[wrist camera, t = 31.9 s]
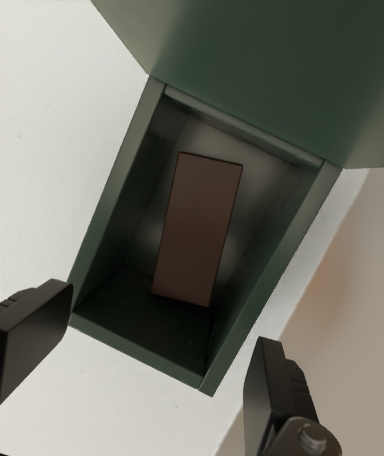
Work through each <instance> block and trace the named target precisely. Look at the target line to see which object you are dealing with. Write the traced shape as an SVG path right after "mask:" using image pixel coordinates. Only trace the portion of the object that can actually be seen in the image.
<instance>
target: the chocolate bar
mask: <svg viewBox="0 0 384 456" xmlns="http://www.w3.org/2000/svg"><path fill="white" fill-rule="evenodd" d="M242 171H243V165H242V164H239V163H234V162H230V161H225V160H221V159H216V158H212V157H207V156H203V155H198V154H194V153H189V152H178V157H177V161H176V166H175V171H174V176H173V181H172V186H171V191H170V196H169V201H168V206H167V211H166V216H165V221H164V226H163V231H162V236H161V241H160V246H159V251H158V256H157V261H156V266H155V271H154V276H153V281H152V285H151V290H150V292H151V293H153V294H156V295H160V296H164V297H168V298H172V299H176V300H180V301H184V302H188V303H192V304H196V305H200V306H204V307H209V305H210V301H211V297H212V293H213V289H214V285H215V280H216V276H217V272H218V268H219V264H220V260H221V256H222V252H223V248H224V244H225V240H226V236H227V232H228V228H229V223H230V219H231V215H232V211H233V207H234V203H235V199H236V195H237V191H238V187H239V183H240V179H241V175H242Z"/></svg>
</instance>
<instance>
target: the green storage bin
mask: <svg viewBox="0 0 384 456" xmlns="http://www.w3.org/2000/svg"><path fill="white" fill-rule="evenodd" d="M178 152H189V153H194V154H198V155H203V156H207V157H212V158H216V159H221V160H225V161H230V162H234V163H239V164H242V165H243V171H242V175H241V179H240V183H239V187H238V191H237V195H236V199H235V203H234V207H233V211H232V215H231V219H230V223H229V228H228V232H227V236H226V240H225V244H224V248H223V252H222V256H221V260H220V264H219V268H218V272H217V276H216V280H215V285H214V289H213V293H212V297H211V301H210V305H209V307H204V306H200V305H196V304H192V303H188V302H184V301H180V300H176V299H172V298H168V297H164V296H160V295H156V294H153V293H151V292H150V290H151V285H152V281H153V276H154V271H155V266H156V261H157V256H158V251H159V246H160V241H161V236H162V231H163V226H164V221H165V216H166V211H167V206H168V201H169V196H170V191H171V186H172V181H173V176H174V171H175V166H176V161H177V157H178ZM342 169H343V167H341V166H338V165H336V164H334V163H332V162H330V161H328V160H326V159H324V158H322V157H320V156H318V155H316V154H313V153H311V152H309V151H307V150H305V149H303V148H301V147H299V146H297V145H295V144H293V143H290V142H288V141H286V140H284V139H282V138H280V137H278V136H276V135H274V134H272V133H270V132H268V131H265V130H263V129H261V128H259V127H257V126H255V125H253V124H251V123H249V122H247V121H245V120H242V119H240V118H238V117H236V116H234V115H232V114H230V113H228V112H226V111H224V110H222V109H220V108H217V107H215V106H213V105H211V104H209V103H207V102H205V101H203V100H201V99H199V98H197V97H194V96H192V95H190V94H188V93H186V92H184V91H182V90H180V89H178V88H176V87H174V86H171V85H169V84H167V83H165V82H163V81H161V80H159V79H157V78H155V77H153V76H151V75H149V78H148V80H147V83H146V85H145V88H144V90H143V93H142V95H141V98H140V100H139V103H138V105H137V108H136V110H135V113H134V115H133V118H132V120H131V123H130V125H129V128H128V130H127V133H126V135H125V138H124V140H123V143H122V145H121V148H120V150H119V152H118V155H117V157H116V160H115V162H114V165H113V167H112V170H111V172H110V175H109V177H108V180H107V182H106V185H105V187H104V190H103V192H102V195H101V197H100V200H99V202H98V205H97V207H96V210H95V212H94V215H93V217H92V220H91V222H90V225H89V227H88V230H87V232H86V235H85V237H84V240H83V242H82V244H81V247H80V249H79V252H78V254H77V257H76V259H75V262H74V264H73V267H72V269H71V272H70V274H69V277H68V279H67V283H71V284H73V286H74V292H73V298H72V304H71V310H70V316H69V321H68V326H70V327H72V328H74V329H76V330H78V331H80V332H82V333H84V334H86V335H88V336H90V337H92V338H94V339H96V340H98V341H100V342H102V343H104V344H106V345H108V346H110V347H112V348H114V349H116V350H118V351H120V352H122V353H124V354H126V355H128V356H130V357H132V358H134V359H137V360H139V361H141V362H143V363H145V364H147V365H149V366H151V367H153V368H155V369H157V370H159V371H161V372H163V373H165V374H167V375H169V376H171V377H173V378H175V379H177V380H179V381H181V382H183V383H185V384H187V385H189V386H191V387H193V388H195V389H198V391H200V392H202V393H204V394H206V395H208V396H210V397H213V395H214V394H215V392H216V390H217V388H218V387H219V385H220V383H221V381H222V380H223V378H224V376H225V374H226V373H227V371H228V369H229V367H230V366H231V364H232V362H233V360H234V359H235V357H236V355H237V353H238V352H239V350H240V348H241V346H242V345H243V343H244V341H245V339H246V338H247V336H248V334H249V332H250V331H251V329H252V327H253V325H254V324H255V322H256V320H257V318H258V317H259V315H260V313H261V311H262V309H263V308H264V306H265V304H266V302H267V301H268V299H269V297H270V295H271V294H272V292H273V290H274V288H275V287H276V285H277V283H278V281H279V280H280V278H281V276H282V274H283V273H284V271H285V269H286V267H287V266H288V264H289V262H290V260H291V259H292V257H293V255H294V253H295V252H296V250H297V248H298V246H299V245H300V243H301V241H302V239H303V238H304V236H305V234H306V232H307V231H308V229H309V227H310V225H311V224H312V222H313V220H314V218H315V217H316V215H317V213H318V211H319V210H320V208H321V206H322V204H323V203H324V201H325V199H326V197H327V196H328V194H329V192H330V190H331V189H332V187H333V185H334V183H335V182H336V180H337V178H338V176H339V175H340V173H341V171H342Z"/></svg>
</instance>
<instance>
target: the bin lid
mask: <svg viewBox="0 0 384 456" xmlns="http://www.w3.org/2000/svg"><path fill="white" fill-rule="evenodd" d="M90 1H91V2H92V3H93V5H94V6H95V7H96V9H97V10H98V11H99V13H100V14H101V15H102V16H103V18H104V19H105V20H106V22H107V23H108V24H109V26H110V27H111V28H112V29H113V31H114V32H115V33H116V35H117V36H118V37H119V39H120V40H121V41H122V42H123V44H124V45H125V46H126V48H127V49H128V50H129V52H130V53H131V54H132V55H133V57H134V58H135V59H136V61H137V62H138V63H139V65H140V66H141V67H142V68H143V70H144V71H145V72H146V73H147V74H149V75H151V76H153V77H155V78H157V79H159V80H161V81H163V82H165V83H167V84H169V85H171V86H174V87H176V88H178V89H180V90H182V91H184V92H186V93H188V94H190V95H192V96H194V97H197V98H199V99H201V100H203V101H205V102H207V103H209V104H211V105H213V106H215V107H217V108H220V109H222V110H224V111H226V112H228V113H230V114H232V115H234V116H236V117H238V118H240V119H242V120H245V121H247V122H249V123H251V124H253V125H255V126H257V127H259V128H261V129H263V130H265V131H268V132H270V133H272V134H274V135H276V136H278V137H280V138H282V139H284V140H286V141H288V142H290V143H293V144H295V145H297V146H299V147H301V148H303V149H305V150H307V151H309V152H311V153H313V154H316V155H318V156H320V157H322V158H324V159H326V160H328V161H330V162H332V163H334V164H336V165H338V166H341V167H343V168H345V169H359V168H377V167H384V0H90Z"/></svg>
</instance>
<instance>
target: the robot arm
mask: <svg viewBox="0 0 384 456" xmlns="http://www.w3.org/2000/svg"><path fill="white" fill-rule="evenodd" d="M73 292H74V286H73V284H71V283H67V282H64V281H60V280H56V279H50V280H48V281H47V282H45V283H44V284H42V285H41V286H39V287H38V288H33V287H32V288H29V289H25V290H22V291H18V292H17V293H15V294H13V295H12V296H10V297H9V298H8V299H7V300H6V299H5V300H4V301H2V302H1V303H0V405H1V404H2V403H3V402H4V400H5V399H6V398H7V397H8V396H9V395H10V394H11V393H12V392H13V391H14V390H15V389H16V388H17V387H18V386H19V385H20V383H21V382H22V381H23V380H24V379H25V378H26V377H27V376H28V375H29V374H30V373H31V372H32V371H33V370H34V369H35V368H36V367H37V365H38V364H39V363H40V362H41V361H42V360H43V359H44V358H45V357H46V356H47V355H48V354H49V353H50V352H51V351H52V350H53V348H54V347H55V346H56V345H57V344H58V343H59V342H60V341H61V340H62V338H63V336H64V334H65V332H66V329H67V326H68V321H69V316H70V310H71V304H72V298H73ZM309 394H310V392H309V389H308V386H307V382H306V379H305V376H304V373H303V371H302V370H301V369H300V368H299V366H298V365H297V364H296V363H295V361H292V360H289V359H285V355H284V351H283V347H282V343H281V342H279V341H276V340H272V339H268V338H265V337H261V336H259V337H258V339H257V342H256V345H255V348H254V351H253V354H252V358H251V361H250V364H249V367H248V371H247V374H246V377H245V382H244V388H243V410H244V436H245V437H244V439H245V456H342V450H341V446H340V444H339V442H338V441H337V439H336V438H335V437H334V435H333V434H332V433H331V432H330V431H329V430H327V429H326V428H325V427H323V426H322V425H321V424H320V423H319V420H318V417H317V414H316V411H315V407H314V404H313V401H312V398H311V395H309ZM0 456H8V455H4V454H1V453H0Z"/></svg>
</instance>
